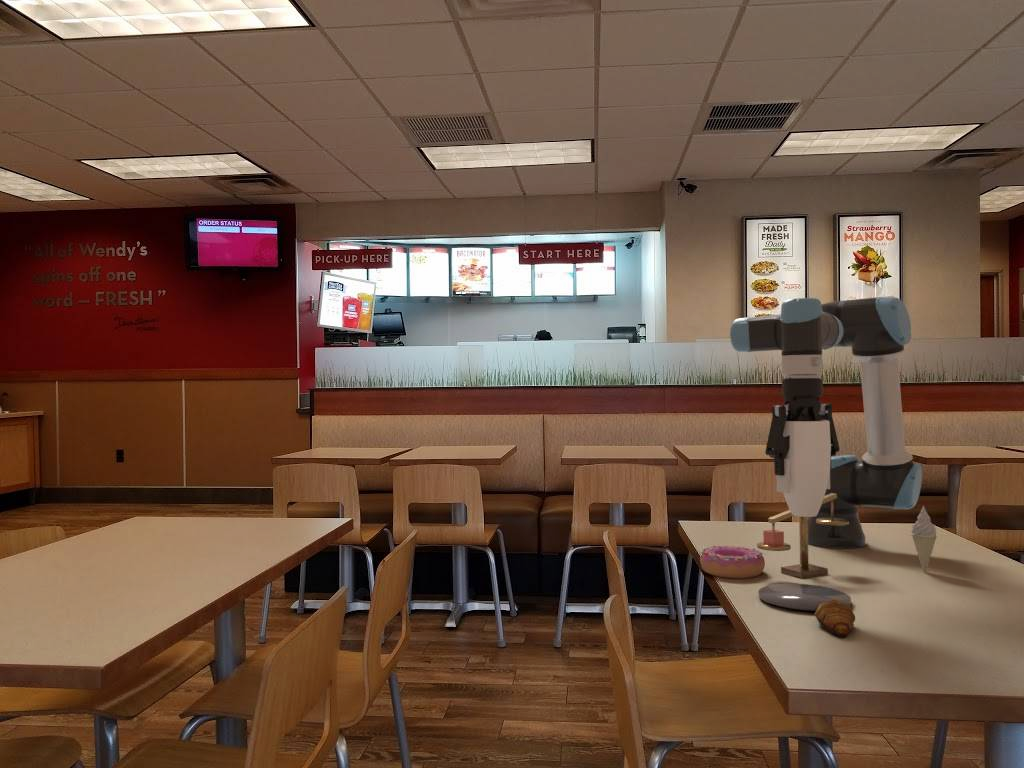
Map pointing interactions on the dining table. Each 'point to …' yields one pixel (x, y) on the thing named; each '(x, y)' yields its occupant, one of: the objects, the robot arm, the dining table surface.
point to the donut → (732, 561)
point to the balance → (776, 541)
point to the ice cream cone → (924, 538)
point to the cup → (808, 465)
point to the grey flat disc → (801, 595)
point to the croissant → (835, 617)
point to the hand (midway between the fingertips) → (803, 490)
